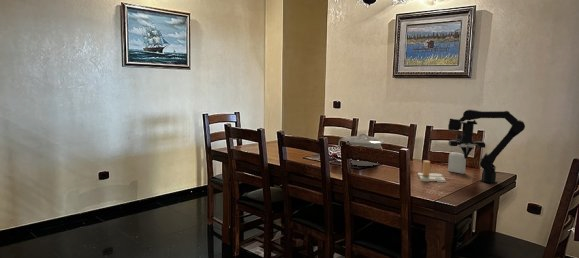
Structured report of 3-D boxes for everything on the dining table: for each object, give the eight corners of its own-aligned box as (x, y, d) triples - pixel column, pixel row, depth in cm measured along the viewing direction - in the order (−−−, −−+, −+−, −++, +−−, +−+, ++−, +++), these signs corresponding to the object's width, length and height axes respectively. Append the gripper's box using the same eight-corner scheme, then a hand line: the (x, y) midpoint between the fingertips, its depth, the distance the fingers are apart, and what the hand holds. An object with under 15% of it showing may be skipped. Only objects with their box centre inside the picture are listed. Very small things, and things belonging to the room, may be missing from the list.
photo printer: (446, 171, 249) (448, 151, 247) (450, 170, 252) (451, 151, 250) (462, 174, 241) (464, 154, 240) (466, 173, 244) (467, 153, 242)
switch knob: (427, 176, 232) (428, 160, 231) (429, 178, 228) (430, 162, 226) (422, 175, 233) (423, 160, 231) (423, 177, 228) (424, 162, 227)
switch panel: (440, 176, 235) (440, 173, 235) (445, 182, 222) (445, 179, 222) (417, 175, 238) (417, 172, 237) (421, 181, 224) (421, 178, 224)
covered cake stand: (392, 168, 254) (393, 136, 251) (353, 170, 245) (354, 137, 243) (370, 159, 280) (371, 130, 277) (334, 161, 272) (335, 131, 269)
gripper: (480, 130, 233) (478, 156, 235) (447, 129, 236) (445, 154, 238) (486, 133, 222) (484, 160, 224) (451, 131, 225) (449, 158, 228)
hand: (465, 158), depth 229 cm, fingers closed
